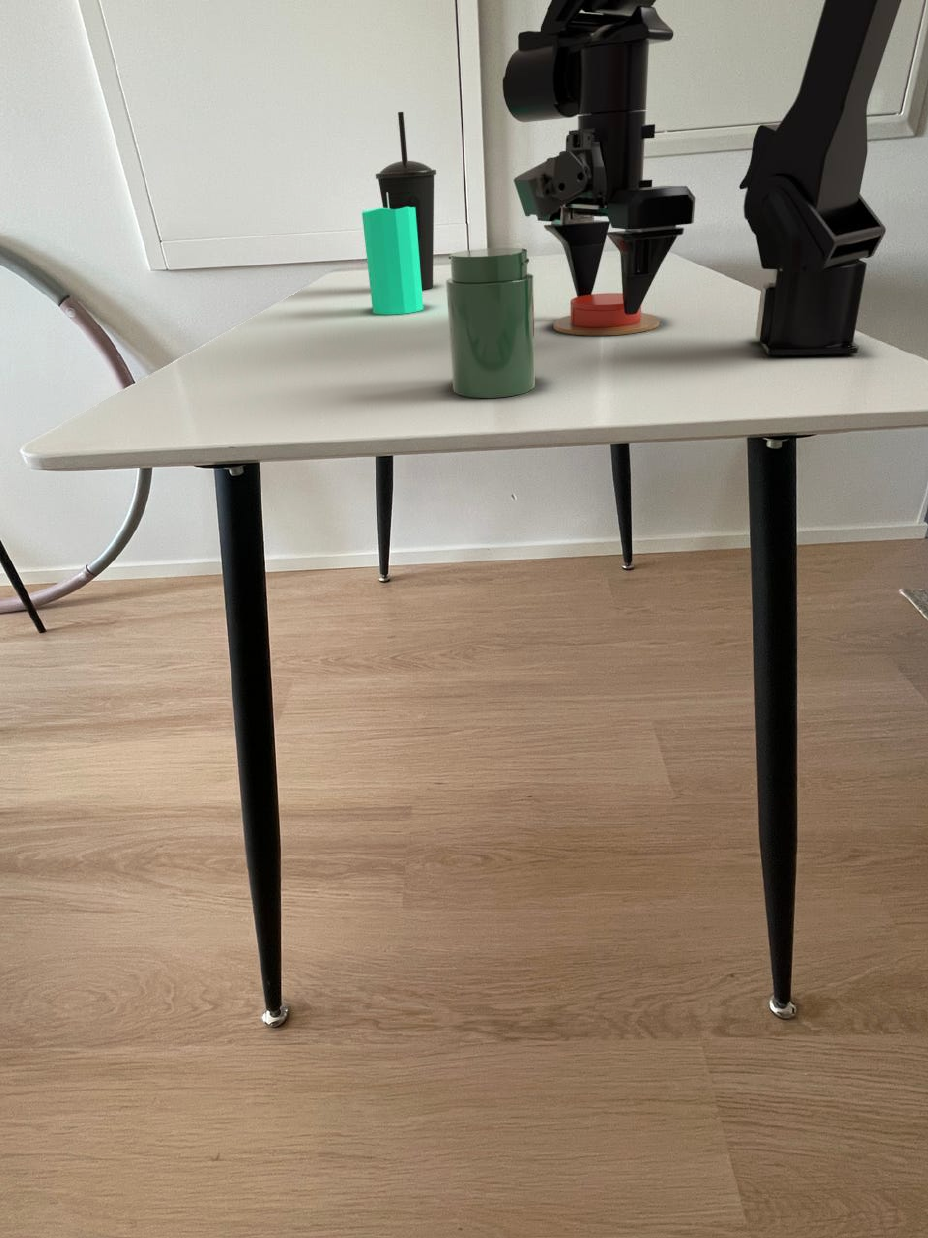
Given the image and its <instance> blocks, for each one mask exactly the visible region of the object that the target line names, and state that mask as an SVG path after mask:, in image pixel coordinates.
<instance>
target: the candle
mask: <svg viewBox="0 0 928 1238" xmlns="http://www.w3.org/2000/svg"><path fill="white" fill-rule="evenodd" d="M387 204H388V208H383V206H382V207H377V208H372V209H367V210H362V211H361V216H362V217H361V218H362V224H363V225H362V226H363V227H362V228H363V235H364V236H363V237H364V243H365V245H364V246H365V253H366V261H367V270H368V279H369V289H370V297H371V298H370V299H371V308H372V313H373V314H376V315H389V316H390V315H403V314H411V313H417V312H420V311H422V310H424V298H423V297H424V296H423V290H422V285H421V273H420V260H419V248H418V236H417V224H416V211H415V207H404V208H399V209H389V201H388V192H387Z"/></svg>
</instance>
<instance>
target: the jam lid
mask: <svg viewBox="0 0 928 1238" xmlns="http://www.w3.org/2000/svg"><path fill="white" fill-rule="evenodd" d="M569 305H570V309H569V311H570V314H569V316H570V322H571V324H573V325H576V326H582V327H596V328H603V327H618V326H626V325H631V324H634V323H637V322H639V321H640V320H641V313H642V305H641V306H640V308H639V310H638V312H637V313H636V314H632V315H626V314H625V312H624V304H623V293H620V292H607V293H592V294H591V295H584V296H579V297H577V296H576V297H572V298H571V299H570V304H569Z"/></svg>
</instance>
